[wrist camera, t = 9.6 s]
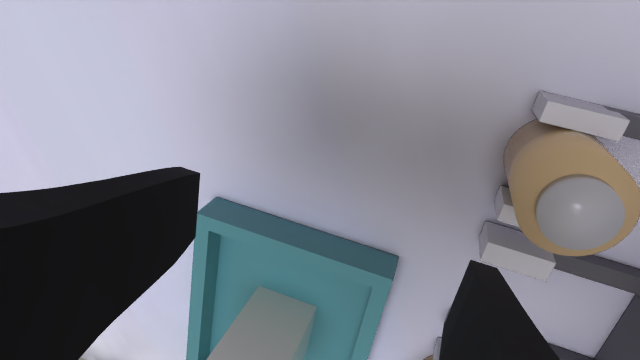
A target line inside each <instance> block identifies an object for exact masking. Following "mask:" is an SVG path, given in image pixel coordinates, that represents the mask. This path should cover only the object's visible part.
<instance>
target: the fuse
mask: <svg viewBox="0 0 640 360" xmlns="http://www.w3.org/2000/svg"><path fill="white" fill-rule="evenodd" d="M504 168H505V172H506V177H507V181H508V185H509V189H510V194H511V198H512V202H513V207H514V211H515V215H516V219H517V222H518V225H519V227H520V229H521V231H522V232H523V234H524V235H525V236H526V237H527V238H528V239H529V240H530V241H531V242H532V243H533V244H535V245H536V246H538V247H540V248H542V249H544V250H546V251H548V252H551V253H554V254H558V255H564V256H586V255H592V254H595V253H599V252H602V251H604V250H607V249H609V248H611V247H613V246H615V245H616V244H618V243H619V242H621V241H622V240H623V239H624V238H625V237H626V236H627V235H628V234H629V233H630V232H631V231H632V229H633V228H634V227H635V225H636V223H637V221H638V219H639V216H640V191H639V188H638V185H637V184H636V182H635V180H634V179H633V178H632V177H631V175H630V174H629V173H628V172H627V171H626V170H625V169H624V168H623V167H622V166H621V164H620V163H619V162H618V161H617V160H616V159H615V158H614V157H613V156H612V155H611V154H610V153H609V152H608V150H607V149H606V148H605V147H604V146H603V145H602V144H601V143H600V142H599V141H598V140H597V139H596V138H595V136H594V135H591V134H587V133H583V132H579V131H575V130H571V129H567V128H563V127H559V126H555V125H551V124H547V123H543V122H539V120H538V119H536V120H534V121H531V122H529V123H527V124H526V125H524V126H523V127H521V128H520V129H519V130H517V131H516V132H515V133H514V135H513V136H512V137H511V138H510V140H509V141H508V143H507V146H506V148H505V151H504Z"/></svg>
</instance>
